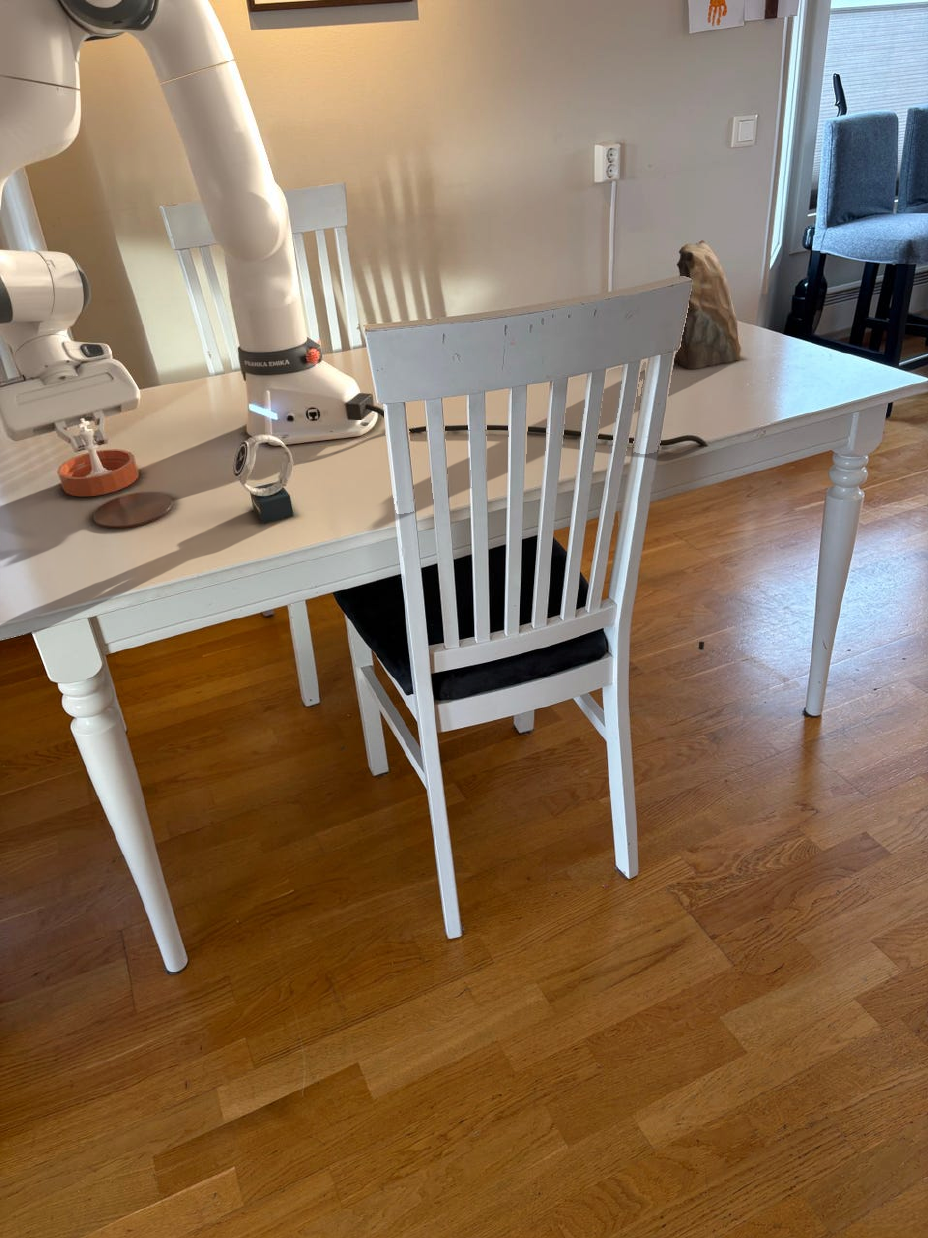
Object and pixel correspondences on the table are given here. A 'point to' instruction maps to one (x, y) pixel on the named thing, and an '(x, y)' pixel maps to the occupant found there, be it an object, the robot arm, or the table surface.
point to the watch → (271, 497)
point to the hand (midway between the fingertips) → (91, 446)
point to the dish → (80, 467)
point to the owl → (707, 311)
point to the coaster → (133, 510)
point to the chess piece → (91, 449)
